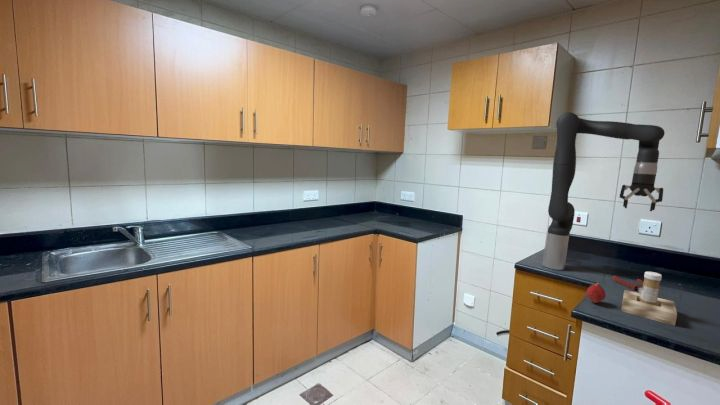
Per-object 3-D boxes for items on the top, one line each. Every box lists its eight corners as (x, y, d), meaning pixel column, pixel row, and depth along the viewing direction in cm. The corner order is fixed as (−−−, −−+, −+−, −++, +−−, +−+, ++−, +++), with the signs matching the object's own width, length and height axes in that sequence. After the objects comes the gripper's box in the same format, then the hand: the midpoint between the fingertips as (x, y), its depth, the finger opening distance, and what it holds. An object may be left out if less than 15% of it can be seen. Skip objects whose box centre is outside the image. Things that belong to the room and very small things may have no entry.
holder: (621, 311, 116) (623, 300, 115) (622, 299, 126) (624, 289, 126) (674, 325, 107) (677, 314, 106) (671, 311, 117) (673, 301, 116)
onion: (581, 299, 124) (584, 279, 123) (595, 299, 125) (598, 279, 123) (593, 306, 118) (596, 285, 117) (607, 306, 119) (611, 286, 118)
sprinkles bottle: (642, 304, 119) (648, 270, 117) (657, 310, 115) (664, 274, 113) (635, 306, 117) (642, 271, 115) (651, 312, 113) (658, 276, 111)
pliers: (634, 297, 130) (635, 291, 129) (610, 279, 149) (611, 274, 148) (668, 302, 127) (669, 296, 126) (639, 283, 146) (640, 278, 145)
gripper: (623, 171, 142) (617, 208, 144) (667, 174, 132) (660, 213, 135) (624, 171, 147) (618, 206, 150) (666, 174, 138) (659, 211, 140)
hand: (638, 209), depth 142 cm, fingers open, 8 cm apart
